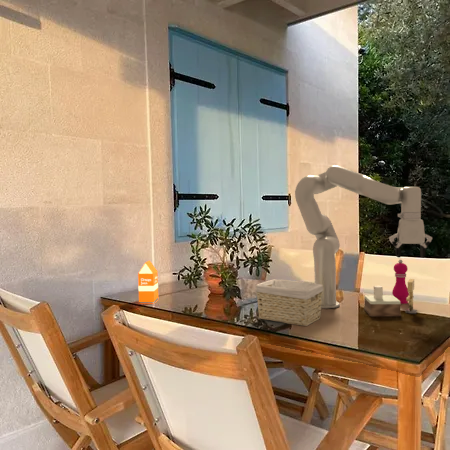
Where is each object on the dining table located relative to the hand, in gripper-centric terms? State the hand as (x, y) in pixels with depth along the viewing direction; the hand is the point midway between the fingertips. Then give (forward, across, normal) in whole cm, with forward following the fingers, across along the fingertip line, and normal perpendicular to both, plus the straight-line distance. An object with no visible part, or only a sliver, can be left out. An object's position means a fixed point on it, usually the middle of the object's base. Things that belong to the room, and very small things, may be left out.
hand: (410, 257), depth 194 cm
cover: (+19, -12, 0) cm, 22 cm away
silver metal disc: (+24, 0, 0) cm, 24 cm away
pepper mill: (+24, +2, +19) cm, 30 cm away
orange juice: (+25, -118, +23) cm, 123 cm away
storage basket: (+24, -51, -11) cm, 57 cm away
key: (+22, 0, -2) cm, 22 cm away
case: (+24, -12, 0) cm, 26 cm away
